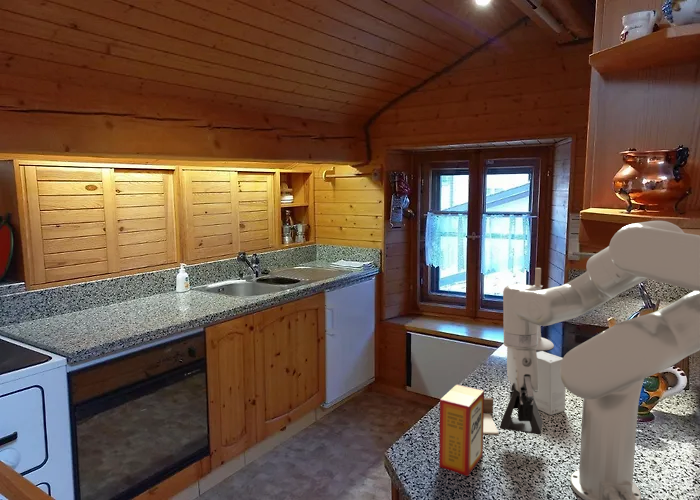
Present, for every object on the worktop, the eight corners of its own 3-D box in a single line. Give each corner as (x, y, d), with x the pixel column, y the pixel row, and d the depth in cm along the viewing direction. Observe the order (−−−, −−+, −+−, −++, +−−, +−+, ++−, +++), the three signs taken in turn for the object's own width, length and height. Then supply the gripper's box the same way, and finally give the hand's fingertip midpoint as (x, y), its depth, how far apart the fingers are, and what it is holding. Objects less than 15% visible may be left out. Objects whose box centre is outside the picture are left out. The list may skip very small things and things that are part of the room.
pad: (498, 434, 122) (498, 432, 122) (469, 433, 123) (469, 432, 123) (489, 415, 132) (489, 413, 132) (463, 414, 133) (463, 413, 133)
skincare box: (565, 411, 134) (567, 358, 132) (549, 416, 131) (551, 362, 129) (541, 399, 141) (543, 349, 139) (525, 404, 138) (527, 353, 136)
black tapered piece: (543, 423, 116) (542, 374, 115) (540, 435, 111) (540, 383, 110) (503, 418, 120) (502, 370, 119) (499, 428, 115) (498, 378, 113)
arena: (503, 436, 121) (504, 420, 121) (462, 435, 122) (462, 420, 121) (492, 411, 134) (492, 397, 134) (454, 411, 135) (455, 397, 134)
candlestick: (542, 353, 179) (545, 271, 175) (511, 344, 188) (513, 267, 184) (560, 345, 187) (563, 267, 183) (529, 337, 197) (531, 263, 192)
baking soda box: (455, 447, 117) (456, 382, 114) (482, 455, 113) (484, 389, 111) (439, 466, 109) (439, 397, 107) (467, 476, 105) (469, 405, 103)
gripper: (550, 349, 104) (550, 431, 106) (526, 328, 122) (527, 399, 123) (513, 350, 105) (514, 431, 107) (495, 329, 122) (496, 399, 124)
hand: (521, 413), depth 115 cm, fingers closed on black tapered piece, 6 cm apart
